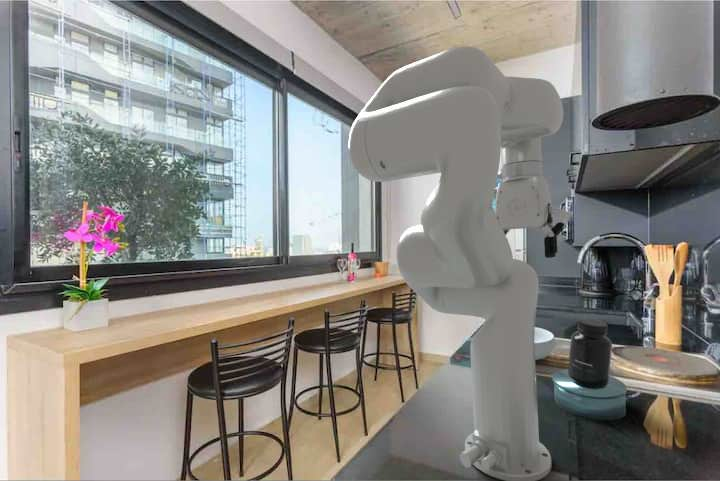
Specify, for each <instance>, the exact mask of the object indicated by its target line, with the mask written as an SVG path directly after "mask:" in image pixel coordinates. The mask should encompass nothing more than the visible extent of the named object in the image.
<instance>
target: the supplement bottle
mask: <svg viewBox="0 0 720 481" xmlns="http://www.w3.org/2000/svg"><path fill="white" fill-rule="evenodd" d="M577 323H578V324H577V326H576V327H577V331H575V332H573V333H572V334H571V337H570V345H569V346H570V347H569V361H568V369H567V370H568V374H569V376H570V378H571V379H572V380H574V381H575V382H577V383H580V384H582V385H585V386H589V387H595V388H601V387H605V386H606V385H607V384H608V381H609V376H610V369H611V361H612V360H611V359H612V349H613V343H612V340H611V339H610V338H609V337H607V335H608V324H607V323H605V322H604V321H602V320H598V319H593V318H580V319H578V322H577Z"/></svg>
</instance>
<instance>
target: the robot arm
mask: <svg viewBox="0 0 720 481" xmlns="http://www.w3.org/2000/svg"><path fill="white" fill-rule="evenodd" d="M563 120H564V107H563V102H562V99H561V97H560V94H559V93H558V91H557V89H556V88H555V85H553V84H552V82H550V81H548V80H545V79H542V78H535V77H533V78H532V77H522V76H521V77H520V76H506V75H505V74H504V73H503V72H502V71H501V70H500V69H499V68H498V67H497V65H496V64H495V63H494V61H493V60H492V59H491V58H490V57H488V55H487V54H486V53H485V52H484V51H483V50H481V49H480V48H477V47H475V46H471V45H470V46H468V45H463V46H456V47H453V48H452V47H451V48H450V49H446V50H444V51H441V52H439V53H436V54H433V55H431V56H429V57H426V58H423V59H420V60H418V61H415V62H413V63H411V64H408V65H404V66H402V67H400V68H399V69H397V70H395V71H394V72H393V73H392V74H391V75H389V76H388V77H387V79H385V81H384V82H383V83H382V84H381V85H380V87H379V88H378V89H377V91H375V93H374V94H373V95H372V97H371V98H370V100H368V102H367V103H366V104H365V106H364V107H363V109H362V110H361V111H360V113H359V114H358V115H357V117H356V118H355V120H354V122H353V123H352V125H351V129H350V132H349V136H348V137H349V138H348V153H349V157H350V160H351V163H352V166H353V167H354V169H355V170H356V172H357V173H358V174H359V175H360V176H362V177H363V178H364V179H366V180H368V181H373V182H377V183H379V182H380V183H381V182H382V183H383V182H390V181H391V182H392V181H398V180H403V179H409V178H414V177H415V178H416V177H422V176H428V175H434V174H439V173H440V178H439V181H438V183H437V185H436V186H435V187H434V188H433V190H432V191H431V192H430V194H429V196H428V197H427V199H426V202H425V203H424V206H423V209H422V211H421V215H420V224H416V225H413V226H410V227H409V228H407V229H406V230H404V232H403V233H402V235H400V238H399V240H398V243H397V247H396V261H397V265H398V270H399V273H400V275H401V277H402V279H403V281H404V282H405V283H406V284H407V286H409V288H410V289H411V290H412V291H413V292H414V293H415V294H416V295H418V297H419V298H420V299H422V301H423V302H424V303H425V304H427V305H428V306H429V307H430V308H432V309H433V310H434V311H437V313H438V312H439V313H443V314H447V315H448V314H449V315H450V314H451V315H459V316H471V317H475V318H481V319H484V320H485V321H484V324H483V325H482V327H480V328H479V330H477V331H476V332H475V334H474V335H473V336H472V338H471V342H470V346H469V347H470V348H469V350H470V351H469V352H470V353H469V355H470V356H469V357H470V372H471V386H472V387H471V390H472V391H471V392H472V413H473V432H471V433H470V434H468V436H467V438H466V439H465V441H464V451H462V452H461V453H460V454H459V460H460V463H461V465H462V466H464V467H465V468H470V467H471V466H474V467H475V468H477V469H478V470H479V471H481V472H482V473H484V474H486V475H488V476H489V477H492V478H494V479H495V478H496V479H499V480H501V481H539V480H542V479H543V478H546V477H547V475H549V473H550V472H551V469H552V456H551V454H550V451H549V449H547V448H546V447H545V445H544V444H543V443H541V442H540V439H539V438H540V435H539V434H540V432H539V414H538V413H539V412H538V393H537V392H538V389H537V370H536V367H537V365H536V361H535V340H534V333H535V327H536V314H537V304H538V296H539V287H540V286H539V278H538V274H537V272H536V270H535V269H534V267H532V266H531V265H530V264H529V263H527V262H525V261H523V260H521V259H517V258H514V257H513V252H512V248H511V245H510V243H509V240H508V238H507V235H508V233H509V232H510V230H518V229H520V230H521V229H524V230H525V229H538V228H539V229H540V230H541V231H543V233H545V235H546V236H545V237H544V239H543V241H544V242H543V243H544V244H543V245H544V257H545V258H547V259H550V258H555V257H556V254H557V253H558V237H559V236H560V234H561V232H562V231H564V230H565V229H566V228H567V224H568V222H569V221H570V218H571V217H572V213H571V212H569V211H566V210H565V209H561V208H559V207H556V206H554V205H553V204H552V198H551V192H550V187H549V184H548V181H547V178H546V177H544V176H543V159H542V158H543V157H542V156H543V155H542V138H544V137H548V136H552V135H554V134H555V133H557V132H558V131H559V130H560V128H561V126H562V123H563ZM500 161H501V163H500ZM500 164H501V168H500ZM499 169H500V172H499ZM499 179H501V181H502V182H499V183H498V185H497V180H499ZM496 186H497V189H496ZM495 190H496V196H495ZM494 196H495V209H494V206H493V201H494ZM553 215H555V216H556V217H558V218H559V219H558V221H557V223H555V225H553V223H554V222H553V221H554V218H553Z"/></svg>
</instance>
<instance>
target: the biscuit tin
mask: <svg viewBox="0 0 720 481" xmlns="http://www.w3.org/2000/svg"><path fill="white" fill-rule="evenodd" d="M552 382H553V392H554V403H556V405H557V406H558V407H559V408H561V409H562V410H564V411H566V412H568V413H570V414H572V415H575V416H579V417H583V418H586V419H589V420H590V419H591V420H596V421H597V420H598V421H615V420H619V419H622V418H624V417H625V416H626V415H627V408H626V407H627V406H626V403H627V402H626V393H627V386H626V384H625V383H624V382H622V380H619V379H618V378H616V377H614V376H612V375H609V381H608V384H607V385H606V386H605V387H601V388H595V387H589V386H585V385H582V384H580V383H577V382H575V381H574V380H572V379H571V378H570V376H569V374H568V369H562V370H561V369H560V370H558V371H555V372H554V373H553V374H552Z"/></svg>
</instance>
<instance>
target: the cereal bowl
mask: <svg viewBox="0 0 720 481" xmlns="http://www.w3.org/2000/svg"><path fill="white" fill-rule="evenodd" d="M534 340H535V362H536V361H537V360H538V361H539V360H541V359H544V358H546V357H548V356H549V355H551V353H552V352H553V350H554V349H555V336H554V333H552V332H551V331H550V330H547V329H544V328H541V327H537V326H535V333H534Z"/></svg>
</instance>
